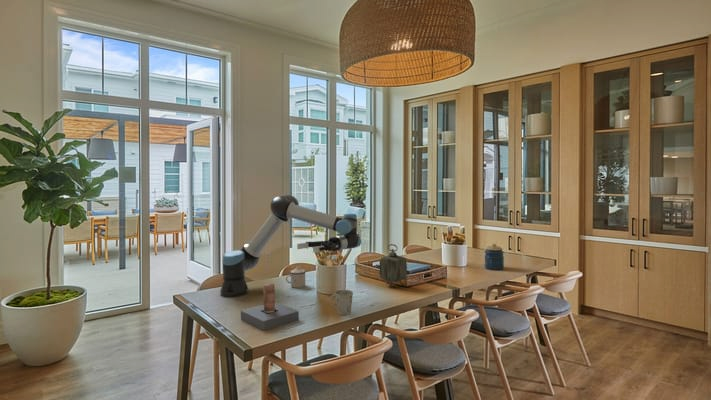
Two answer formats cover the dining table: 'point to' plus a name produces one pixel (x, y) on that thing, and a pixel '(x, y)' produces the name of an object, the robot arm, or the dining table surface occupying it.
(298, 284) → the teacup with lid
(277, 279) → the dining table surface
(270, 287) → the peg
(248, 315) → the board
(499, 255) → the canister
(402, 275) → the tabletop clock
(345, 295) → the mug
